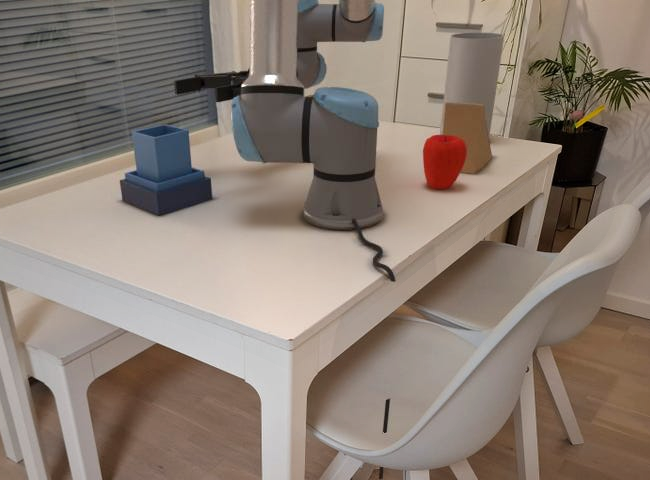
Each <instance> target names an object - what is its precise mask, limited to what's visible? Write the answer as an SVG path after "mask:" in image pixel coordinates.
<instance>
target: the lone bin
mask: <svg viewBox="0 0 650 480" xmlns="http://www.w3.org/2000/svg"><path fill="white" fill-rule="evenodd" d="M131 139H132V145H133V153H134V154H133V155H134V160H135V161H134V162H135V170H137V176H138V177H141V178H143V179H146V180H149V181H152V182H155V183H157V184H158V183H161V182H165V181H168V180H172V179H175V178H179V177H182V176H186V175H189V174H192V167H193V166H192V165H193V164H192V157H191V156H192V153H191V141H190V130H189V129H186V128H182V127H178V126H174V125H171V124H166V123H164V124H160V125H159V124H158V126H157V125H155V126H150V127H147V128H142V129H137V130H134V131H133V130H132V131H131Z"/></svg>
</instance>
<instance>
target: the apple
mask: <svg viewBox="0 0 650 480" xmlns="http://www.w3.org/2000/svg"><path fill="white" fill-rule="evenodd" d="M466 155H467V148H466V144H465V141H464V140H463V139H461V138H459V137H456V136H451V135H440V134H433V135H431V136H430V137H428V138H426V140H425V142H424V145H423V149H422V159H423V160H422V162H423V172H424V177H425V180H426V183H427V185H428V186H429V187H431V188H432V189H435V190H448V189H449V188H451V187H452V186H454V184H455V182H456V181H457V179H458V178H459V175H460V174H461V173H462V172H461V170H462V168H463V165H464V163H465V160H466Z"/></svg>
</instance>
